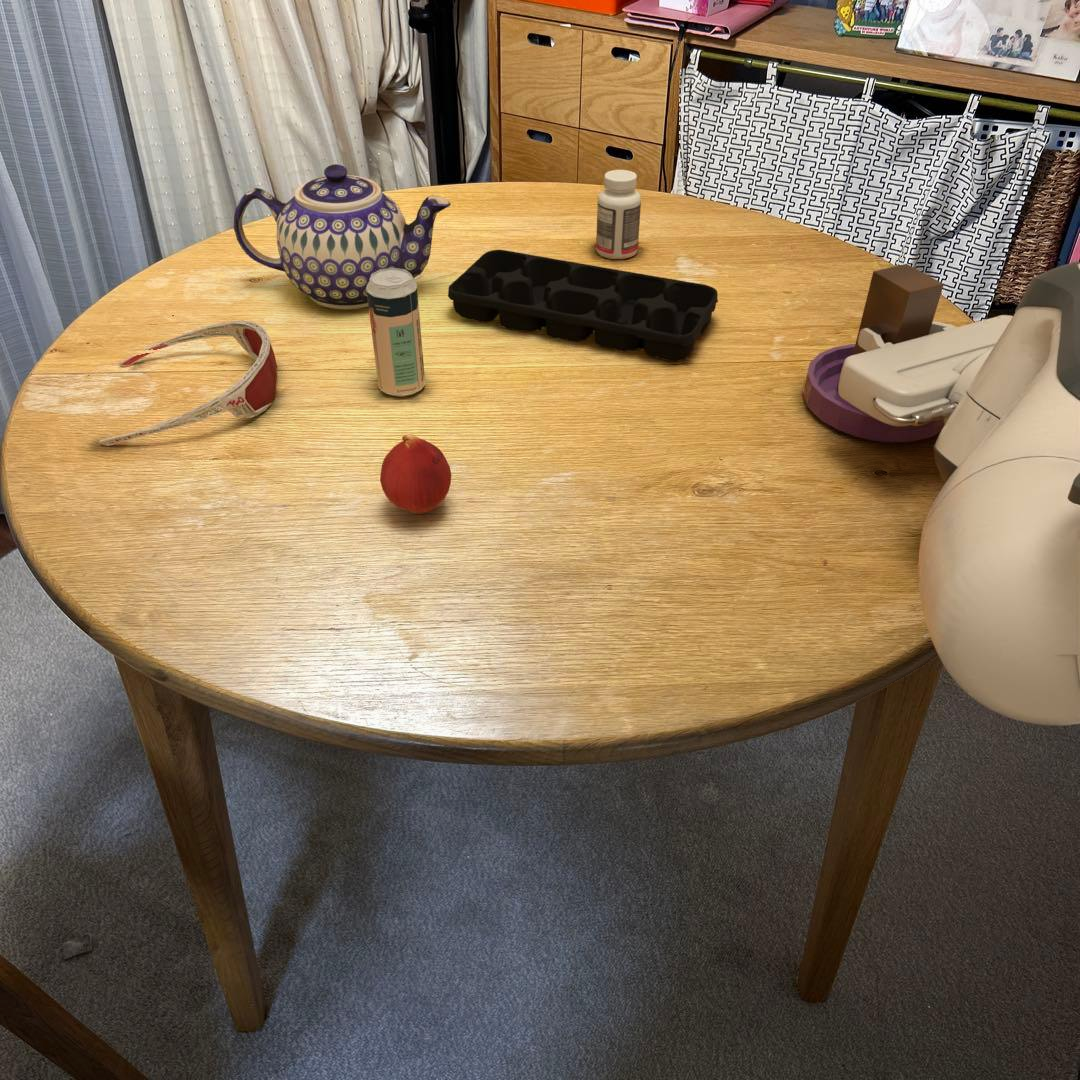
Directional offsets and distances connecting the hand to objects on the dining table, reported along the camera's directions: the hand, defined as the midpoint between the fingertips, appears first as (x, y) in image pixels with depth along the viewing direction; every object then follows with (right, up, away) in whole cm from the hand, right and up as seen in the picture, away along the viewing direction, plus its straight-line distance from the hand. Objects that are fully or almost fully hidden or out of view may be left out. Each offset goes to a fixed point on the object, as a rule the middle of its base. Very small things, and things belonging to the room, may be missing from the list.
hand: (887, 328), depth 91 cm
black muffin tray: (-28, +5, +19) cm, 34 cm away
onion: (-43, -18, -8) cm, 47 cm away
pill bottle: (-23, +17, +32) cm, 43 cm away
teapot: (-55, +10, +24) cm, 61 cm away
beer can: (-47, -5, +7) cm, 48 cm away
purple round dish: (0, -7, +5) cm, 8 cm away
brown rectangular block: (0, -6, +4) cm, 8 cm away
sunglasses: (-68, -6, +6) cm, 68 cm away
